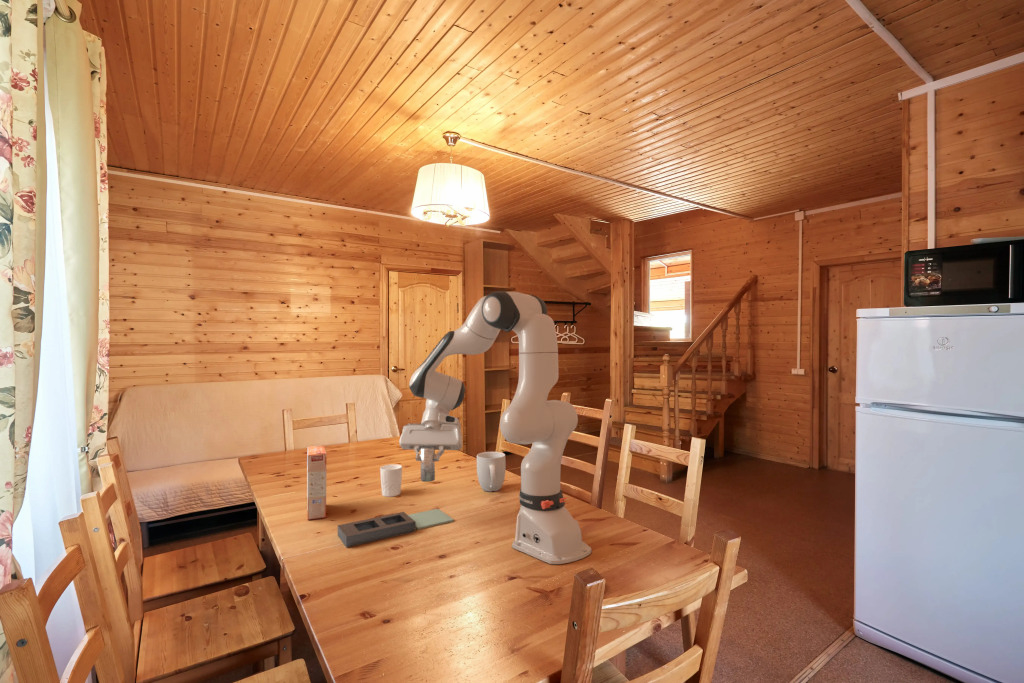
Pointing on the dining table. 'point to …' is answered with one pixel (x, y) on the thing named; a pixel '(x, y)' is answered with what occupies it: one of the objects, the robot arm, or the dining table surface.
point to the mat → (430, 518)
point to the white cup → (391, 479)
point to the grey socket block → (375, 529)
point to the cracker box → (316, 482)
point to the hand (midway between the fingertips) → (427, 460)
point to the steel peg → (427, 464)
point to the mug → (491, 470)
